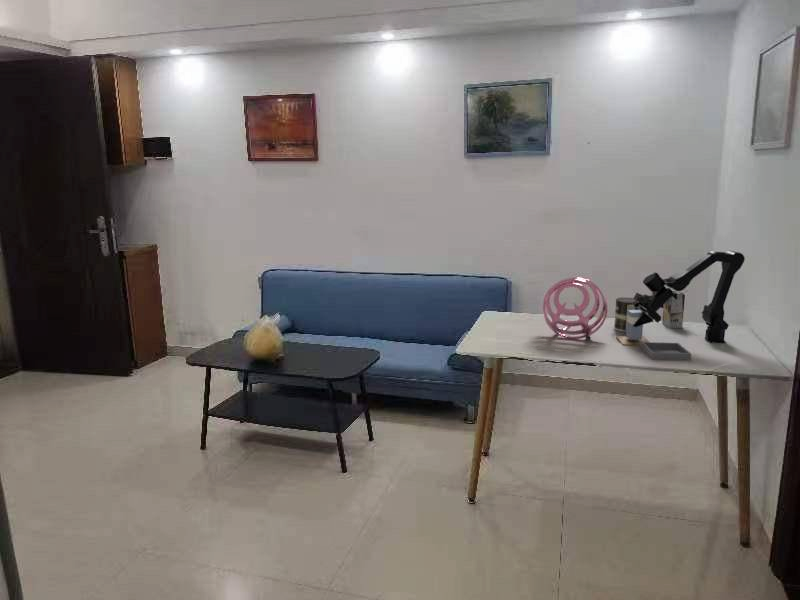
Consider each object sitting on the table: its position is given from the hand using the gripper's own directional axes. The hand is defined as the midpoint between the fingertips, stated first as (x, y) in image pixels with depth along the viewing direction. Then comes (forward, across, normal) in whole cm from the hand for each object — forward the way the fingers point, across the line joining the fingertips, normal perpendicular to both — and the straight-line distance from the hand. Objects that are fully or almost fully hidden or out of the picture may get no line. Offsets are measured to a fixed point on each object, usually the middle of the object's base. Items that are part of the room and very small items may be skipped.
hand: (631, 324), depth 252 cm
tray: (0, +18, +11) cm, 21 cm away
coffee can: (+2, -22, +10) cm, 24 cm away
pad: (+5, 0, +7) cm, 8 cm away
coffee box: (-15, -26, +27) cm, 40 cm away
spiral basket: (+22, -11, -10) cm, 26 cm away
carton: (+3, 0, +5) cm, 6 cm away
